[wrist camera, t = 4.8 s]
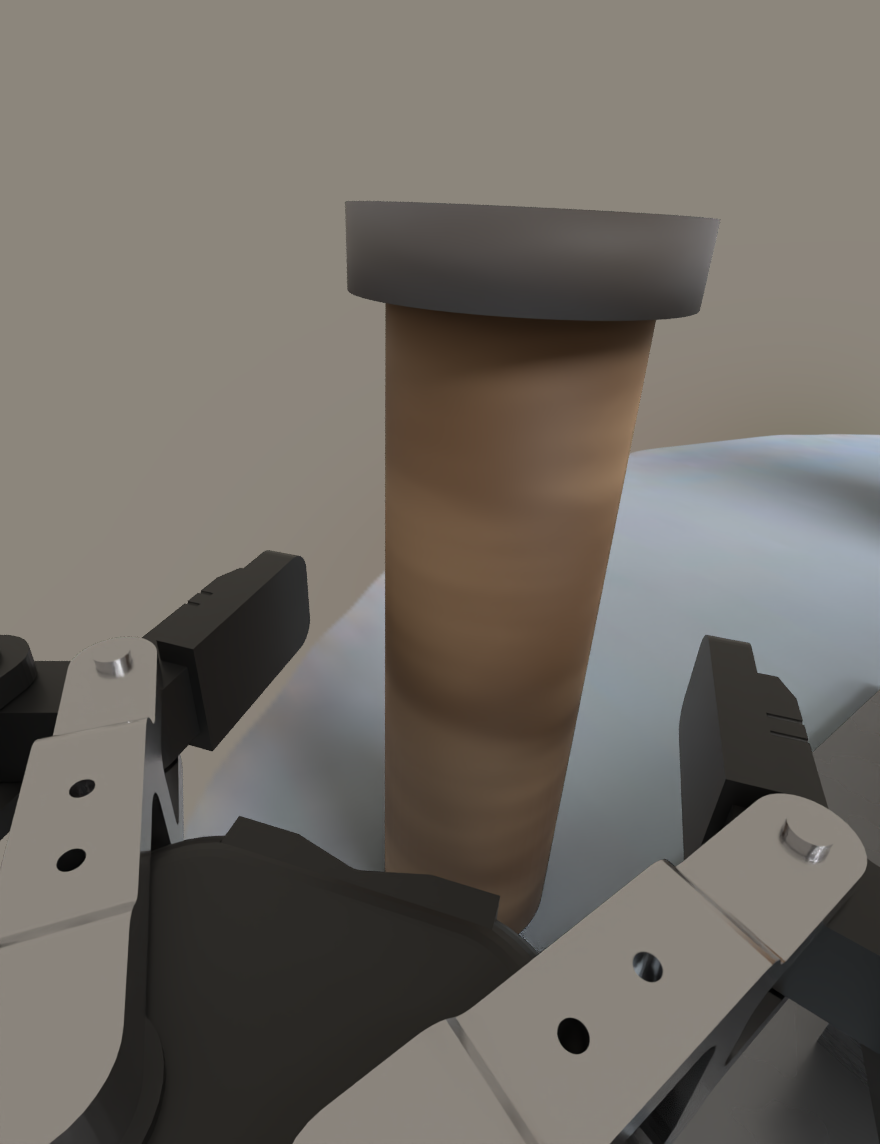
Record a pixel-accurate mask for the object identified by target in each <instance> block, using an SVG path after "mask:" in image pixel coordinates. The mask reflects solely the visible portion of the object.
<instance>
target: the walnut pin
mask: <svg viewBox="0 0 880 1144" xmlns="http://www.w3.org/2000/svg"><path fill="white" fill-rule="evenodd" d="M345 208H346V209H345V213H346V247H347V249H346V250H347V287H348V288H347V289H348V291H349V292H350V293H351V294H353V295H356V296H359V297H362V298H365V299H369V300H373V301H378V302H383V303H386V386H385V387H386V392H385V396H386V400H385V408H386V410H385V411H386V412H385V413H386V415H385V417H386V418H385V433H386V435H385V437H386V438H385V443H386V444H385V466H386V467H385V474H386V475H385V497H386V498H385V872H395V873H412V874H429V875H434V876H437V877H440V878H444V879H447V880H450V881H454V882H457V883H460V884H463V885H467V886H470V887H473V888H476V889H480V890H483V891H486V892H489V893H493V894H496V895H499V896H500V901H499V908H498V915H497V920H498V921H500V922H501V923H503V924H505V925H506V926H508V927H509V928H511V929H512V930H513V931H514V932H516V933H517V934H519V933H520V932H521V931H522V930H523V929H524V928H525V927H526V926H527V925H528V924H529V923H530V921H531V920H532V919H533V917H534V915H535V913H536V911H537V909H538V907H539V904H540V901H541V896H542V891H543V886H544V881H545V876H546V871H547V866H548V861H549V856H550V851H551V846H552V841H553V836H554V831H555V826H556V821H557V816H558V811H559V806H560V801H561V796H562V791H563V786H564V781H565V776H566V771H567V766H568V760H569V755H570V750H571V745H572V740H573V735H574V730H575V725H576V720H577V715H578V710H579V705H580V700H581V695H582V690H583V685H584V680H585V675H586V670H587V665H588V660H589V655H590V650H591V645H592V640H593V635H594V630H595V624H596V619H597V614H598V609H599V604H600V599H601V594H602V589H603V584H604V579H605V574H606V569H607V564H608V559H609V554H610V549H611V544H612V539H613V534H614V529H615V524H616V519H617V514H618V509H619V504H620V499H621V494H622V488H623V483H624V478H625V473H626V468H627V463H628V458H629V453H630V448H631V443H632V438H633V433H634V428H635V422H636V418H637V413H638V408H639V403H640V398H641V393H642V387H643V383H644V378H645V373H646V367H647V363H648V358H649V352H650V347H651V342H652V337H653V332H654V327H655V322H656V320H658V319H671V318H680V317H686V316H691V315H694V314H697V313H698V312H699V311H700V307H701V303H702V298H703V294H704V289H705V285H706V281H707V276H708V272H709V268H710V263H711V258H712V255H713V250H714V246H715V242H716V237H717V233H718V228H719V224H720V219H713V218H703V217H691V216H677V215H662V214H646V213H629V212H614V211H595V210H576V209H557V208H536V207H515V206H493V205H471V204H446V203H418V202H381V201H346V202H345Z"/></svg>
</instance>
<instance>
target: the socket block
mask: <svg viewBox="0 0 880 1144" xmlns="http://www.w3.org/2000/svg"><path fill="white" fill-rule="evenodd" d="M812 754H813V757H814V761H815V764H816V768H817V771H818V774H819V778H820V781H821V785H822V788H823V791H824V795H825V798H826V802H827V805H828V809H829V810H830V811H832V812H833V813H835V814H836V815H837V816H839V817H840V818H841V819H842V820H843V821H845V822H846V823H847V824H848V825H849V826H850V827H851V828H852V830H853V831H854V832H855V833H856V835H857V836H858V837H859V839H860V840H861V842H862V844H863V846H864V848H865V852H866V855H867V859H869V860H870V861H871V862H873V863H874V864H876V865H878V866H879V867H880V690H879V691H878V692H877V693H876V694H875V695H873V696H872V697H871V698H870V699H869V700H868V701H867V702H866V703H865V704H864V705H863V706H862V707H861V708H860V709H858V710H857V711H856V712H855V713H854V714H853V715H852V716H851V717H850V718H849V719H848V720H847V721H846V722H845V723H843V724H842V725H841V726H840V727H839V728H838V729H837V730H836V731H835V732H834V733H833V734H832V735H831V736H830V737H828V738H827V739H826V740H825V741H824V742H823V743H822V744H821V745H820V746H819V747H818V748H817V749H816V750H815V751H813V752H812ZM673 1144H879V1139H878V1134H877V1128H876V1123H875V1118H874V1112H873V1107H872V1102H871V1097H870V1091H869V1086H868V1081H867V1075H866V1070H865V1065H864V1060H863V1054H862V1049H861V1044H860V1042H858V1041H857V1040H855V1039H853V1038H852V1037H850V1036H849V1035H847V1034H845V1033H844V1032H842V1031H841V1030H839V1029H837V1028H836V1027H834V1026H832V1025H831V1024H829V1023H828V1022H826V1021H824V1020H823V1019H821V1018H820V1017H818V1016H816V1015H815V1014H813V1013H812V1012H810V1011H808V1010H807V1009H805V1008H803V1007H802V1006H800V1005H799V1004H797V1003H795V1002H794V1001H792V1000H791V999H788V1000H787V1001H786V1002H785V1003H784V1005H783V1006H782V1007H781V1008H780V1009H779V1011H778V1012H777V1013H776V1014H775V1015H774V1017H773V1018H772V1019H771V1020H770V1021H769V1022H768V1024H767V1025H766V1026H765V1027H764V1028H763V1030H762V1031H761V1032H760V1033H759V1034H758V1036H757V1037H756V1038H755V1039H754V1040H753V1041H752V1043H751V1044H750V1045H749V1046H748V1047H747V1049H746V1050H745V1051H744V1052H743V1053H742V1055H741V1056H740V1057H739V1058H738V1059H737V1061H736V1062H735V1063H734V1064H733V1065H732V1066H731V1068H730V1069H729V1070H728V1071H727V1072H726V1074H725V1075H724V1076H723V1077H722V1078H721V1080H720V1081H719V1082H718V1083H717V1085H716V1086H715V1087H714V1089H713V1090H712V1091H711V1093H710V1094H709V1095H708V1097H707V1098H706V1100H705V1101H704V1103H703V1104H702V1106H701V1107H700V1109H699V1110H698V1111H697V1113H696V1114H695V1116H694V1117H693V1118H692V1120H691V1121H690V1122H689V1124H688V1125H687V1126H686V1128H685V1129H684V1130H683V1131H682V1133H681V1134H680V1135H679V1136H678V1138H677V1139H676V1140H675V1141H674V1143H673Z"/></svg>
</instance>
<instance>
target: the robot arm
mask: <svg viewBox="0 0 880 1144" xmlns="http://www.w3.org/2000/svg"><path fill="white" fill-rule="evenodd" d="M309 624H310V613H309V599H308V586H307V572H306V564H305V561H304V559H303V558H302V557H301V556H296V555H291V554H286V553H281V552H275V551H270V550H267V551H265V552H263V553H262V554H260V555H259V556H258V557H257V558H256V559H254V560H253V561H252V562H251V563H249V564H248V565H247V566H246V567H245V568H239V569H236V570H234V571H232V572H230V573H227V574H225V575H222V576H220V577H218V578H216V579H215V580H214V581H212V582H211V583H210V584H209V585H208V586H206V587H205V588H204V589H202V590H201V593H197V594H196V595H195V596H194V597H192V598H191V599H190V600H189V601H188V604H184V605H182V606H181V607H180V608H179V609H177V610H176V611H175V612H174V613H172V614H171V615H170V616H168V617H167V618H166V619H165V620H163V621H162V622H161V623H160V624H159V625H157V626H156V627H155V628H154V629H152V630H151V631H150V632H148V633H147V634H146V635H145V636H143V637H142V638H139V637H117V638H112V639H107V640H104V641H101V642H98V643H95V644H93V645H91V646H89V647H87V648H85V649H84V650H82V651H81V652H80V653H78V654H77V655H76V656H75V657H74V658H73V659H72V661H34V660H33V657H32V654H31V651H30V648H29V645H28V644H27V642H26V641H25V640H24V639H22V638H20V637H16V636H11V635H0V840H1V839H2V838H3V837H4V836H5V835H6V834H7V833H8V832H9V831H10V833H9V837H8V841H7V845H6V849H5V852H4V856H3V860H2V864H1V868H0V1144H673V1143H674V1141H675V1140H676V1139H677V1138H678V1136H679V1135H680V1134H681V1133H682V1131H683V1130H684V1129H685V1128H686V1126H687V1125H688V1124H689V1122H690V1121H691V1120H692V1118H693V1117H694V1116H695V1114H696V1113H697V1111H698V1110H699V1109H700V1107H701V1106H702V1104H703V1103H704V1101H705V1100H706V1098H707V1097H708V1095H709V1094H710V1093H711V1091H712V1090H713V1089H714V1087H715V1086H716V1085H717V1083H718V1082H719V1081H720V1080H721V1078H722V1077H723V1076H724V1075H725V1074H726V1072H727V1071H728V1070H729V1069H730V1068H731V1066H732V1065H733V1064H734V1063H735V1062H736V1061H737V1059H738V1058H739V1057H740V1056H741V1055H742V1053H743V1052H744V1051H745V1050H746V1049H747V1047H748V1046H749V1045H750V1044H751V1043H752V1041H753V1040H754V1039H755V1038H756V1037H757V1036H758V1034H759V1033H760V1032H761V1031H762V1030H763V1028H764V1027H765V1026H766V1025H767V1024H768V1022H769V1021H770V1020H771V1019H772V1018H773V1017H774V1015H775V1014H776V1013H777V1012H778V1011H779V1009H780V1008H781V1007H782V1006H783V1005H784V1003H785V1002H786V1001H787V1000H788V999H791V1000H792V1001H794V1002H795V1003H797V1004H799V1005H800V1006H802V1007H803V1008H805V1009H807V1010H808V1011H810V1012H812V1013H813V1014H815V1015H816V1016H818V1017H820V1018H821V1019H823V1020H824V1021H826V1022H828V1023H829V1024H831V1025H832V1026H834V1027H836V1028H837V1029H839V1030H841V1031H842V1032H844V1033H845V1034H847V1035H849V1036H850V1037H852V1038H853V1039H855V1040H857V1041H858V1042H860V1044H861V1049H862V1054H863V1060H864V1065H865V1070H866V1075H867V1081H868V1086H869V1091H870V1097H871V1102H872V1107H873V1112H874V1118H875V1123H876V1128H877V1134H878V1139H879V1144H880V867H879V866H878V865H876V864H874V863H873V862H871V861H870V860H869V859H867V855H866V852H865V848H864V846H863V844H862V842H861V840H860V839H859V837H858V836H857V835H856V833H855V832H854V831H853V830H852V828H851V827H850V826H849V825H848V824H847V823H846V822H845V821H843V820H842V819H841V818H840V817H839V816H837V815H836V814H835V813H833V812H832V811H830V810H829V809H828V805H827V802H826V798H825V795H824V791H823V788H822V785H821V781H820V778H819V774H818V771H817V768H816V764H815V761H814V757H813V754H812V751H811V747H810V744H809V743H807V741H808V737H807V733H806V730H805V727H804V725H802V721H803V720H802V716H801V713H800V710H799V706H798V703H797V699H796V698H795V697H794V695H793V694H792V693H791V692H790V691H789V690H788V688H787V687H786V686H785V685H784V684H783V683H782V681H781V680H780V679H779V678H778V677H775V676H770V675H765V674H760V673H757V670H756V665H755V661H754V656H753V652H752V647H751V645H750V644H749V643H746V642H741V641H736V640H730V639H725V638H720V637H715V636H710V635H705V636H704V638H703V640H702V642H701V645H700V648H699V652H698V655H697V658H696V661H695V665H694V668H693V671H692V675H691V678H690V681H689V685H688V688H687V691H686V694H685V698H684V701H683V705H682V710H681V716H680V724H679V748H680V772H681V797H682V821H683V846H684V861H683V862H682V863H681V864H679V865H677V866H674V865H673V864H672V863H670V862H669V861H668V860H666V859H662V860H659V861H657V862H655V863H654V864H652V865H651V866H649V867H648V868H647V869H646V870H644V871H643V872H642V873H641V874H639V875H638V876H637V877H635V878H634V879H633V880H632V881H630V882H629V883H628V884H627V885H625V886H624V887H623V888H622V889H620V890H619V891H618V892H617V893H615V894H614V895H613V896H612V897H610V898H609V899H608V900H607V901H605V902H604V903H603V904H602V905H600V906H599V907H598V908H597V909H595V910H594V911H593V912H592V913H590V914H589V915H588V916H587V917H585V918H584V919H583V920H582V921H580V922H579V923H578V924H576V925H575V926H574V927H573V928H571V929H570V930H569V931H568V932H566V933H565V934H564V935H563V936H561V937H560V938H559V939H558V940H556V941H555V942H554V943H553V944H551V945H550V946H549V947H548V948H546V949H545V950H544V951H543V952H541V953H540V954H539V953H538V952H537V951H536V950H535V949H534V948H533V947H532V946H531V945H530V944H529V943H528V942H527V941H526V940H524V939H523V938H522V937H521V936H519V935H518V934H517V933H516V932H514V931H513V930H512V929H511V928H509V927H508V926H506V925H505V924H503V923H501V922H500V921H498V920H497V915H498V908H499V901H500V896H499V895H496V894H493V893H489V892H486V891H483V890H480V889H476V888H473V887H470V886H467V885H463V884H460V883H457V882H454V881H450V880H447V879H444V878H440V877H437V876H434V875H429V874H412V873H395V872H377V871H362V870H357V869H353V868H351V867H349V866H348V865H346V864H345V863H343V862H342V861H340V860H338V859H337V858H335V857H334V856H332V855H331V854H329V853H327V852H326V851H324V850H323V849H321V848H320V847H318V846H316V845H315V844H313V843H312V842H310V841H309V840H307V839H305V838H304V837H302V836H301V835H299V834H297V833H293V832H290V831H287V830H284V829H280V828H277V827H274V826H271V825H267V824H264V823H261V822H257V821H254V820H251V819H248V818H244V817H241V816H239V817H238V818H237V820H236V821H235V823H234V824H233V825H232V827H231V828H230V830H229V831H228V833H227V834H226V835H225V836H209V837H200V838H194V839H188V840H184V822H183V770H182V761H181V756H180V753H181V752H182V751H183V750H184V749H185V748H186V747H187V746H188V745H192V746H195V747H199V748H202V749H206V750H209V751H213V750H214V749H215V748H216V747H217V745H218V744H219V743H220V742H221V741H222V740H223V738H224V737H225V736H226V735H227V734H228V733H229V731H230V730H231V729H232V728H233V727H234V725H235V724H236V723H237V722H238V721H239V719H240V718H241V717H242V716H243V715H244V714H245V712H246V711H247V710H248V709H249V708H250V707H251V705H252V704H253V703H254V702H255V701H256V700H257V698H258V697H259V696H260V695H261V694H262V693H263V691H264V690H265V689H266V688H267V687H268V685H269V684H270V683H271V682H272V681H273V679H274V678H275V677H276V676H277V675H278V674H279V673H280V671H281V670H282V669H283V668H284V667H285V665H286V664H287V663H288V662H289V661H290V660H291V658H292V657H293V656H294V655H295V654H296V652H297V651H298V650H299V649H300V648H301V646H302V645H303V643H304V641H305V639H306V637H307V634H308V630H309Z"/></svg>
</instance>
